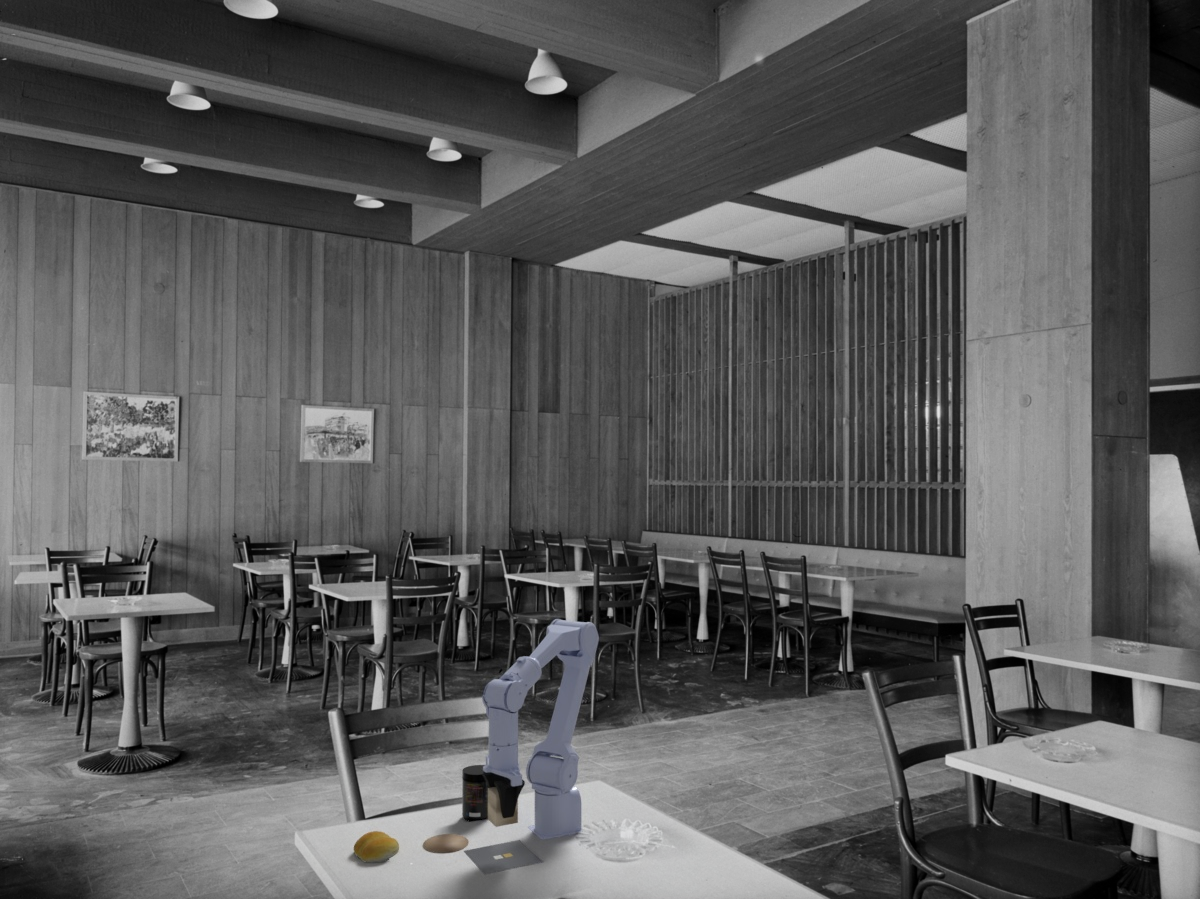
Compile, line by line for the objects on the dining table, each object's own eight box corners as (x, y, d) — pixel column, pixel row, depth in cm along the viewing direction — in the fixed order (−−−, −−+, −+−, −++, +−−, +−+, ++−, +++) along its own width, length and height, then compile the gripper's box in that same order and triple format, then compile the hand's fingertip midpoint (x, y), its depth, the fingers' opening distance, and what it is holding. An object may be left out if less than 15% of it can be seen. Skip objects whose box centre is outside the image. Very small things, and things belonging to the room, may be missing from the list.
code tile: (520, 842, 186) (520, 839, 186) (543, 864, 175) (543, 861, 175) (463, 853, 180) (463, 850, 180) (484, 877, 169) (484, 874, 169)
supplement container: (494, 811, 203) (494, 764, 203) (492, 823, 196) (492, 774, 196) (463, 812, 202) (463, 765, 203) (460, 824, 196) (460, 775, 196)
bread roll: (369, 868, 174) (369, 847, 174) (348, 853, 181) (348, 833, 181) (407, 856, 179) (407, 835, 180) (385, 842, 186) (386, 822, 186)
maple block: (509, 815, 181) (509, 784, 181) (517, 822, 177) (517, 791, 177) (487, 819, 179) (487, 788, 179) (496, 826, 175) (496, 795, 175)
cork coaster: (460, 834, 190) (460, 831, 190) (474, 850, 182) (474, 846, 182) (417, 842, 185) (417, 838, 185) (430, 859, 177) (430, 855, 177)
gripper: (471, 735, 183) (471, 804, 182) (497, 755, 170) (497, 828, 169) (504, 731, 186) (504, 798, 186) (532, 749, 173) (532, 822, 173)
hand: (503, 812), depth 178 cm, fingers closed on maple block, 4 cm apart
